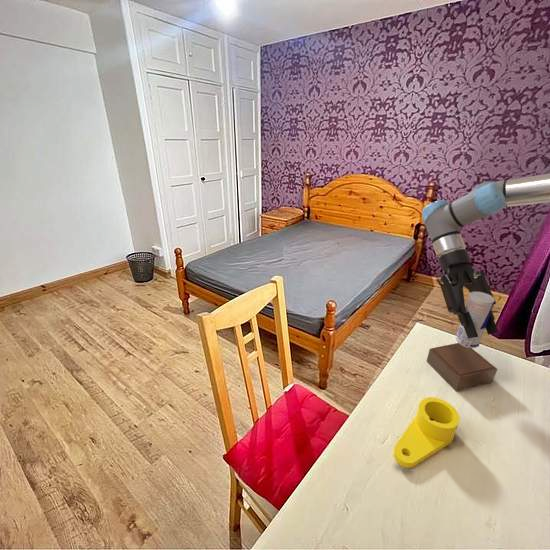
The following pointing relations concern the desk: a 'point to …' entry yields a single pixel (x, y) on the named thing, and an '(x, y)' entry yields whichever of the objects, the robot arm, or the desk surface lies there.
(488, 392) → the desk surface
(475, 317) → the beverage can
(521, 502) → the desk surface
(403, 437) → the crank
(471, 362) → the block
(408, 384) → the desk surface
